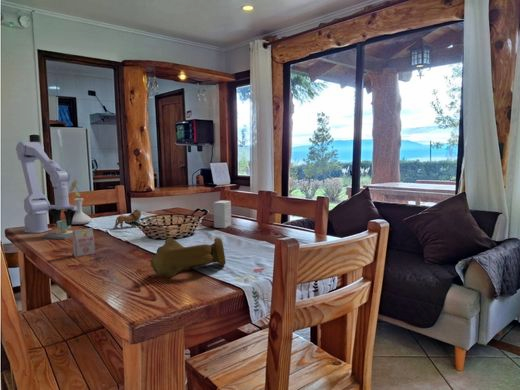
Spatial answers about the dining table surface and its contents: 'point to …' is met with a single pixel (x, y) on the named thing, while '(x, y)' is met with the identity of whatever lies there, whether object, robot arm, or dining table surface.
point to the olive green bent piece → (186, 257)
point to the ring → (62, 225)
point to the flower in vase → (79, 208)
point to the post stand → (60, 234)
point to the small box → (222, 214)
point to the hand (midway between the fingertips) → (63, 225)
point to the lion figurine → (128, 219)
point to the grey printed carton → (83, 242)
